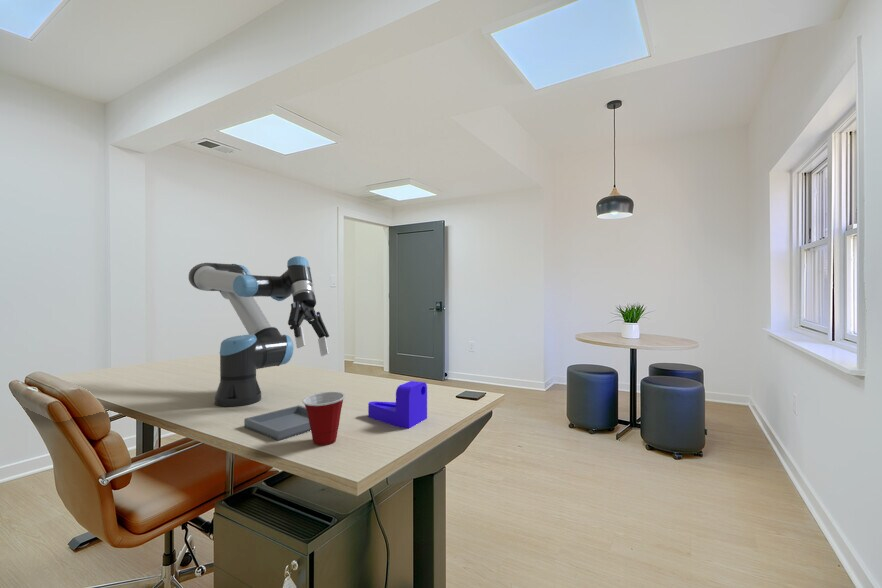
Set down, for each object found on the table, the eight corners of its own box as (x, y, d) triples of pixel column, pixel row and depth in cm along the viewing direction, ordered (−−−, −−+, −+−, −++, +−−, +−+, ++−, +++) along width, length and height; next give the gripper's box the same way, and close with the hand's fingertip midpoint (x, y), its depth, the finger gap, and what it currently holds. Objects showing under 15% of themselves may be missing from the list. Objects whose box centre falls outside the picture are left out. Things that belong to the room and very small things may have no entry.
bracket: (427, 418, 128) (427, 381, 128) (409, 429, 118) (409, 388, 118) (379, 411, 136) (379, 375, 136) (358, 420, 126) (358, 382, 126)
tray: (244, 427, 119) (244, 418, 119) (299, 412, 133) (299, 405, 133) (278, 440, 108) (278, 431, 108) (334, 423, 122) (334, 415, 122)
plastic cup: (295, 441, 108) (295, 395, 108) (333, 431, 115) (333, 389, 115) (313, 453, 100) (313, 404, 100) (352, 442, 107) (352, 396, 107)
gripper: (290, 279, 133) (300, 338, 125) (331, 302, 156) (342, 354, 147) (271, 288, 135) (279, 347, 126) (315, 310, 157) (324, 361, 148)
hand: (313, 351), depth 136 cm, fingers open, 13 cm apart
